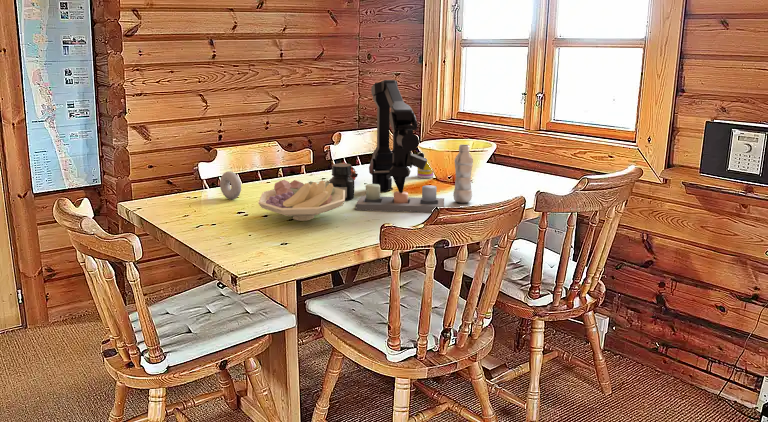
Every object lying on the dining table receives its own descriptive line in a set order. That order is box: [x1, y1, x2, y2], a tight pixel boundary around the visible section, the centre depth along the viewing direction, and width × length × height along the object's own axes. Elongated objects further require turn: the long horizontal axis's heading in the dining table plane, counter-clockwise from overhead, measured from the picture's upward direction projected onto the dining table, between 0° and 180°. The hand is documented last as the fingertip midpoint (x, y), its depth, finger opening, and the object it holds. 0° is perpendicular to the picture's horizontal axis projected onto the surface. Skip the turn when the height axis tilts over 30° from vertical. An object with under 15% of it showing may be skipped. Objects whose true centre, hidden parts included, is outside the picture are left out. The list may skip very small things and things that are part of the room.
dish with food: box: [257, 179, 346, 222], centre depth 214 cm, size 28×28×14 cm
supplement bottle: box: [416, 144, 435, 179], centre depth 277 cm, size 7×7×13 cm
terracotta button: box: [393, 190, 409, 204], centre depth 229 cm, size 5×5×4 cm
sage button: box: [365, 183, 381, 200], centre depth 230 cm, size 5×5×4 cm
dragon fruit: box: [344, 162, 359, 181], centre depth 267 cm, size 8×8×12 cm
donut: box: [219, 171, 242, 200], centre depth 238 cm, size 10×4×10 cm, turn 48°
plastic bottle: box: [452, 144, 474, 204], centre depth 234 cm, size 6×7×20 cm
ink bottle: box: [328, 162, 355, 201], centre depth 240 cm, size 10×9×12 cm
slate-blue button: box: [421, 184, 438, 201], centre depth 228 cm, size 5×5×4 cm
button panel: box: [355, 195, 445, 213], centre depth 230 cm, size 29×12×2 cm, turn 84°
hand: (400, 192), depth 229 cm, fingers closed
